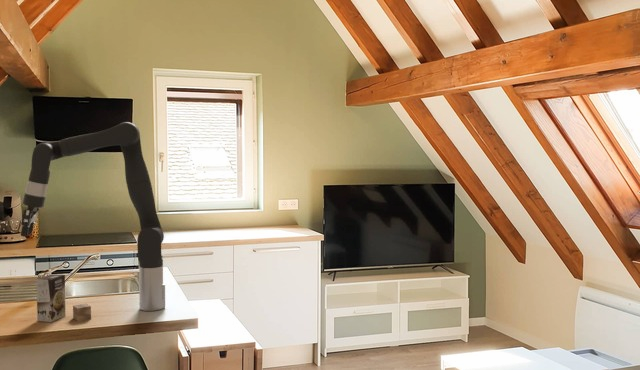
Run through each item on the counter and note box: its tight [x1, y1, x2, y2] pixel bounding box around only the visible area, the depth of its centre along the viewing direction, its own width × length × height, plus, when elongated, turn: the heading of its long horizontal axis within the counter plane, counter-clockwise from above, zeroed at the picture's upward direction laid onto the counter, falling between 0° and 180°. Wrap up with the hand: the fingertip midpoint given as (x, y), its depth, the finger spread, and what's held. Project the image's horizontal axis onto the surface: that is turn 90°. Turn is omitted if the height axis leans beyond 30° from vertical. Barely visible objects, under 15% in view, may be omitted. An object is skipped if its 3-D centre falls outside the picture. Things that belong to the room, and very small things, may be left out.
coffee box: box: [36, 273, 66, 323], centre depth 245 cm, size 9×6×16 cm
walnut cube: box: [72, 303, 92, 322], centre depth 246 cm, size 5×5×5 cm
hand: (26, 234), depth 251 cm, fingers open, 8 cm apart
